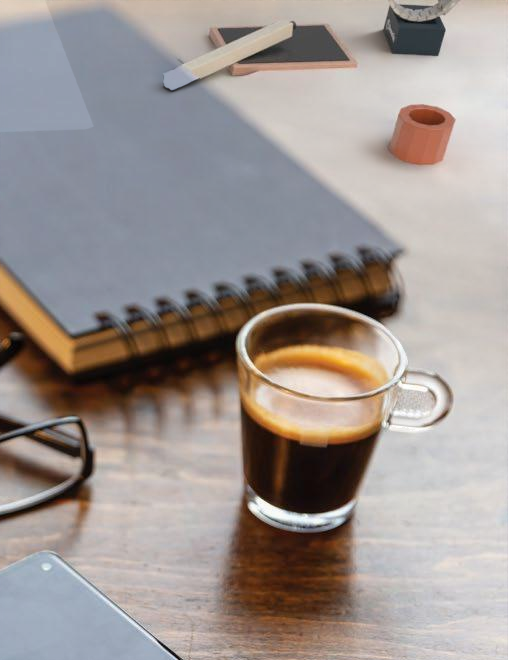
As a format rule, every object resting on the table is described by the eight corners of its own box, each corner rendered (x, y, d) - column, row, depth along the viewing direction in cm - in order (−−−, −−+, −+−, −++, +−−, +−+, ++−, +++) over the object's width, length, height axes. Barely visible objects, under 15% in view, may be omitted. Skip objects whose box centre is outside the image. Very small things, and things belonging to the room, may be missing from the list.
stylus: (288, 15, 128) (162, 73, 122) (299, 20, 127) (172, 77, 121) (287, 29, 128) (162, 86, 123) (298, 33, 128) (172, 91, 122)
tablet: (325, 31, 132) (327, 22, 132) (355, 72, 126) (358, 62, 125) (208, 35, 132) (210, 25, 131) (232, 75, 125) (234, 66, 124)
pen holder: (426, 156, 113) (442, 103, 110) (446, 182, 110) (463, 128, 107) (376, 158, 113) (391, 105, 110) (394, 184, 110) (410, 130, 107)
